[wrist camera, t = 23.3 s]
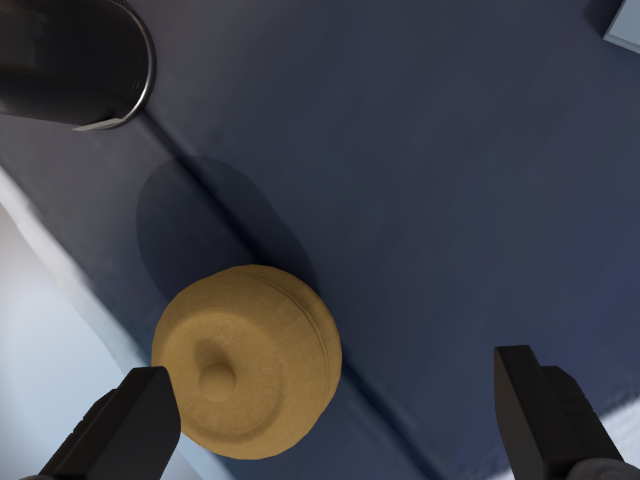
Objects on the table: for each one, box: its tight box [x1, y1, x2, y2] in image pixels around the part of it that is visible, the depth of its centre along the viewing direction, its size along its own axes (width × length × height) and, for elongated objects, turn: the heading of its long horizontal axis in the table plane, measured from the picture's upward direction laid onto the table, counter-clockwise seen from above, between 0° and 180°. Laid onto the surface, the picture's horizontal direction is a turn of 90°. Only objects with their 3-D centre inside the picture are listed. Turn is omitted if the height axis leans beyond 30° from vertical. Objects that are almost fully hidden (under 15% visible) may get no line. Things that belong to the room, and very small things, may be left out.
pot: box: [151, 264, 342, 459], centre depth 33 cm, size 12×12×10 cm
